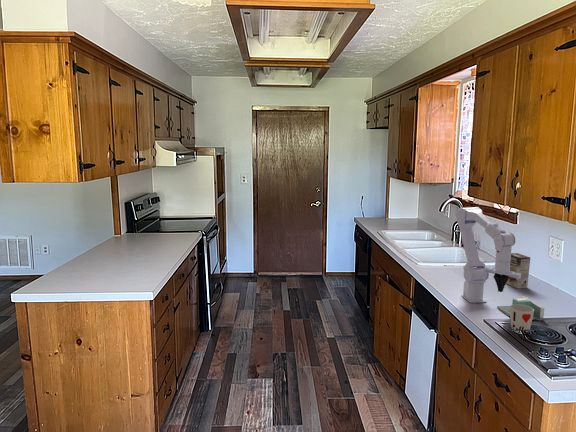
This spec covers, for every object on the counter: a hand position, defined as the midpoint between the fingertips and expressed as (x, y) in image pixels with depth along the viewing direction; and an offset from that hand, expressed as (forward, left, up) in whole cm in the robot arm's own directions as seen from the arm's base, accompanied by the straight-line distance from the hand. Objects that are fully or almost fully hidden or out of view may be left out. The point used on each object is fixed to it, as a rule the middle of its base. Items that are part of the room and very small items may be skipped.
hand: (500, 291), depth 184 cm
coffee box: (-34, +28, -10) cm, 45 cm away
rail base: (+2, +8, -10) cm, 13 cm away
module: (+1, +9, -9) cm, 13 cm away
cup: (+19, -2, -10) cm, 22 cm away
